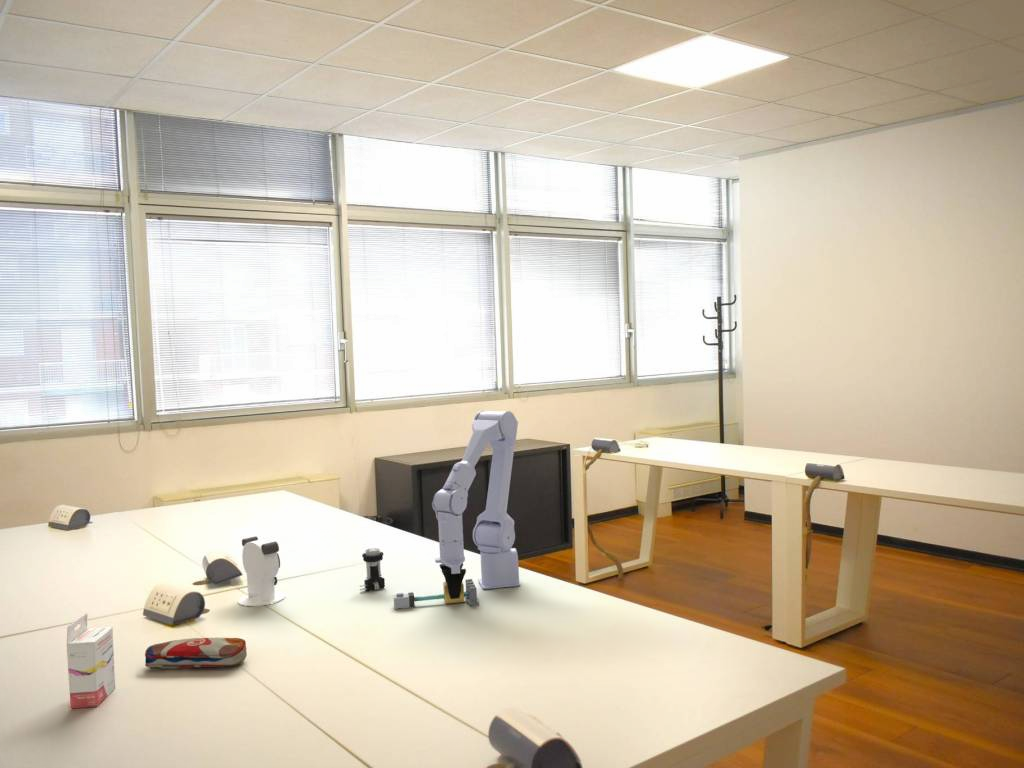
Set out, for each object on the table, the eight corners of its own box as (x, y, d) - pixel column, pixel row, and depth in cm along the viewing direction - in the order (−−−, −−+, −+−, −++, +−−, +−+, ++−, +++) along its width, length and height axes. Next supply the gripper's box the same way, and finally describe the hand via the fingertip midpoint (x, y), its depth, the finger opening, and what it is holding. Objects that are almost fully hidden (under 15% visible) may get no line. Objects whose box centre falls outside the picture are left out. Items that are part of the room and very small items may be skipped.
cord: (470, 595, 202) (470, 591, 202) (470, 596, 201) (470, 592, 201) (403, 601, 199) (403, 597, 199) (403, 603, 198) (403, 598, 198)
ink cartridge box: (98, 707, 149) (93, 625, 148) (69, 709, 148) (64, 627, 148) (117, 687, 157) (112, 610, 156) (90, 689, 157) (84, 612, 156)
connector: (408, 604, 200) (408, 591, 200) (409, 607, 198) (408, 594, 197) (394, 605, 200) (393, 592, 199) (394, 609, 197) (393, 595, 197)
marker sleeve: (462, 597, 203) (461, 580, 203) (464, 601, 200) (463, 584, 199) (443, 599, 202) (443, 582, 202) (445, 603, 199) (444, 586, 199)
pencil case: (220, 680, 159) (219, 654, 159) (135, 672, 165) (134, 647, 165) (255, 659, 169) (253, 634, 169) (174, 652, 175) (172, 628, 175)
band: (413, 603, 200) (413, 592, 200) (414, 607, 198) (414, 595, 198) (408, 604, 200) (408, 592, 200) (409, 607, 198) (408, 596, 197)
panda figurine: (295, 598, 209) (292, 538, 208) (254, 610, 201) (250, 548, 200) (269, 590, 217) (266, 532, 217) (229, 601, 209) (225, 541, 208)
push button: (364, 594, 210) (362, 554, 210) (355, 589, 214) (353, 551, 214) (388, 589, 214) (386, 550, 213) (379, 584, 218) (377, 546, 218)
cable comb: (473, 594, 206) (473, 577, 206) (479, 605, 197) (478, 588, 197) (464, 595, 206) (463, 578, 206) (469, 606, 197) (468, 589, 197)
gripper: (431, 534, 207) (434, 588, 207) (437, 548, 192) (440, 606, 193) (460, 531, 208) (462, 586, 208) (468, 545, 194) (470, 603, 194)
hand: (453, 595), depth 201 cm, fingers closed on marker sleeve, 3 cm apart
